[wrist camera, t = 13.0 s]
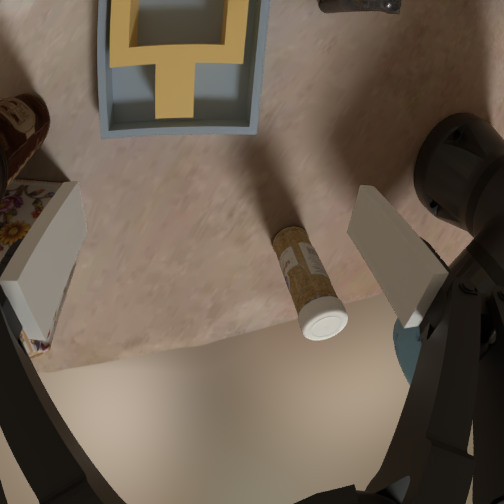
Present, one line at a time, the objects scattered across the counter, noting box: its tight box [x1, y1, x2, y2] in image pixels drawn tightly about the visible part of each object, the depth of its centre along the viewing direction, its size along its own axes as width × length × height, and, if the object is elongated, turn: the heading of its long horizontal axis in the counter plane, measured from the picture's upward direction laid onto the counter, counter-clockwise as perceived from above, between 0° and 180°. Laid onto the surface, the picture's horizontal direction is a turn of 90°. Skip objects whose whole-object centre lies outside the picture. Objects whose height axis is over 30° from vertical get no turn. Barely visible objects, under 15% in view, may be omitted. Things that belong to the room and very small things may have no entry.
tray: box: [97, 0, 270, 139], centre depth 22 cm, size 14×18×3 cm
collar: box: [110, 0, 249, 119], centre depth 21 cm, size 15×10×4 cm
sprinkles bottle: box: [273, 226, 348, 340], centre depth 34 cm, size 5×5×14 cm
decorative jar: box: [0, 179, 76, 359], centre depth 24 cm, size 12×12×18 cm
